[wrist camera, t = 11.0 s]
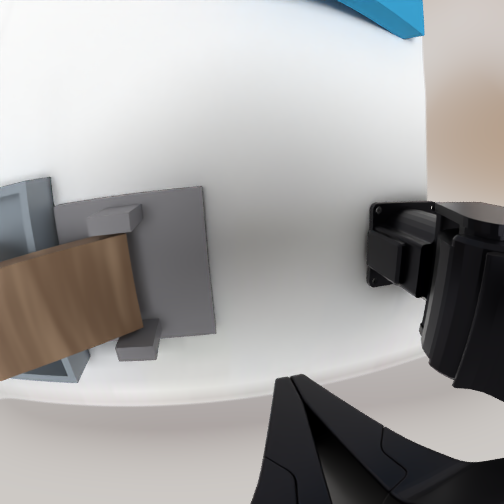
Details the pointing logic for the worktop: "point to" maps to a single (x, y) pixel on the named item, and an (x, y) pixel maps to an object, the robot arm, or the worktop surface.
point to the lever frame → (153, 260)
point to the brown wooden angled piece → (65, 302)
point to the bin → (28, 241)
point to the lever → (393, 15)
